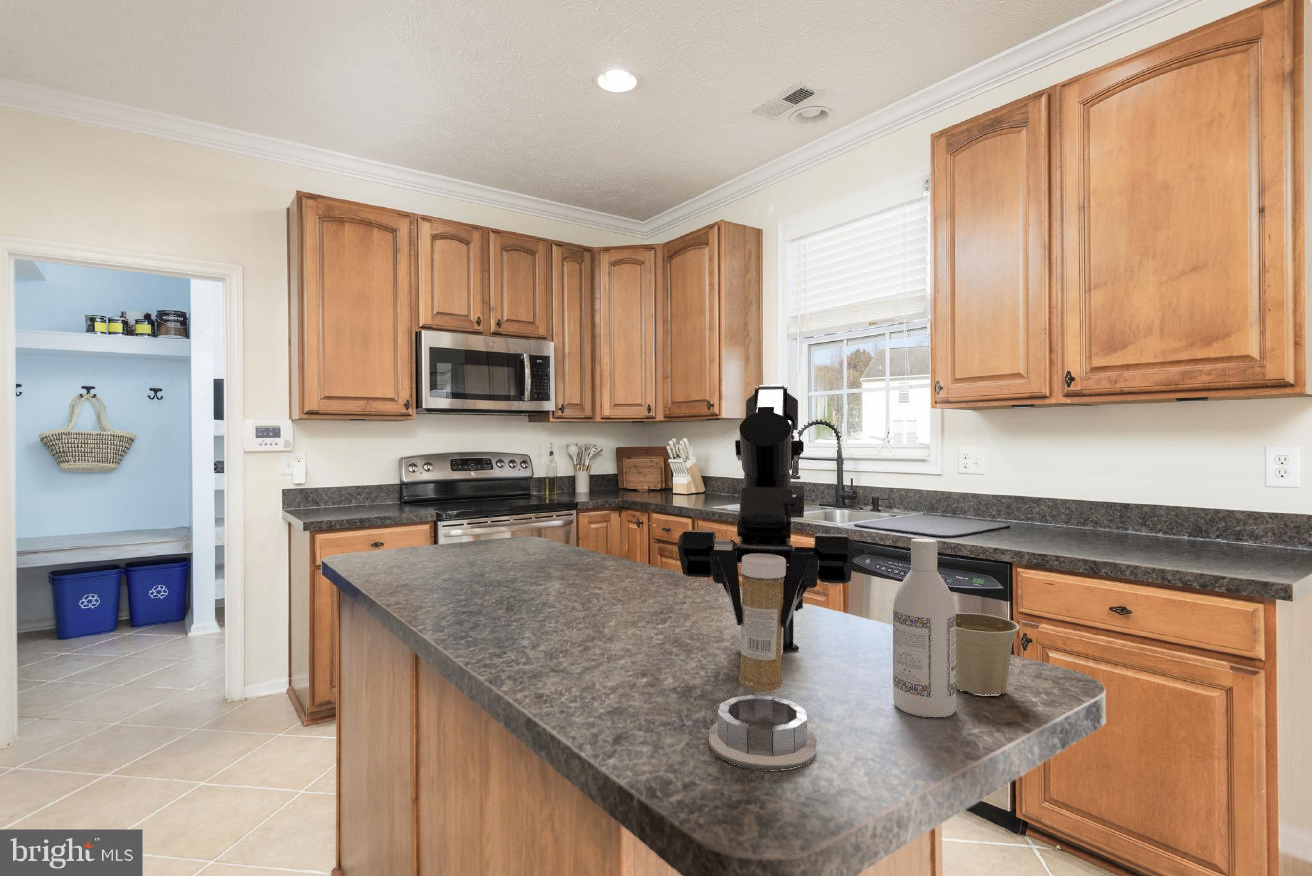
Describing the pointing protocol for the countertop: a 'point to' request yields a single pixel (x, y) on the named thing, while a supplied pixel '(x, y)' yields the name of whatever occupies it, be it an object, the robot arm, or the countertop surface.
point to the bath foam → (924, 638)
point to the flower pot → (983, 652)
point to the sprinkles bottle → (762, 621)
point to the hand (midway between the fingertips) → (761, 624)
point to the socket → (762, 733)
